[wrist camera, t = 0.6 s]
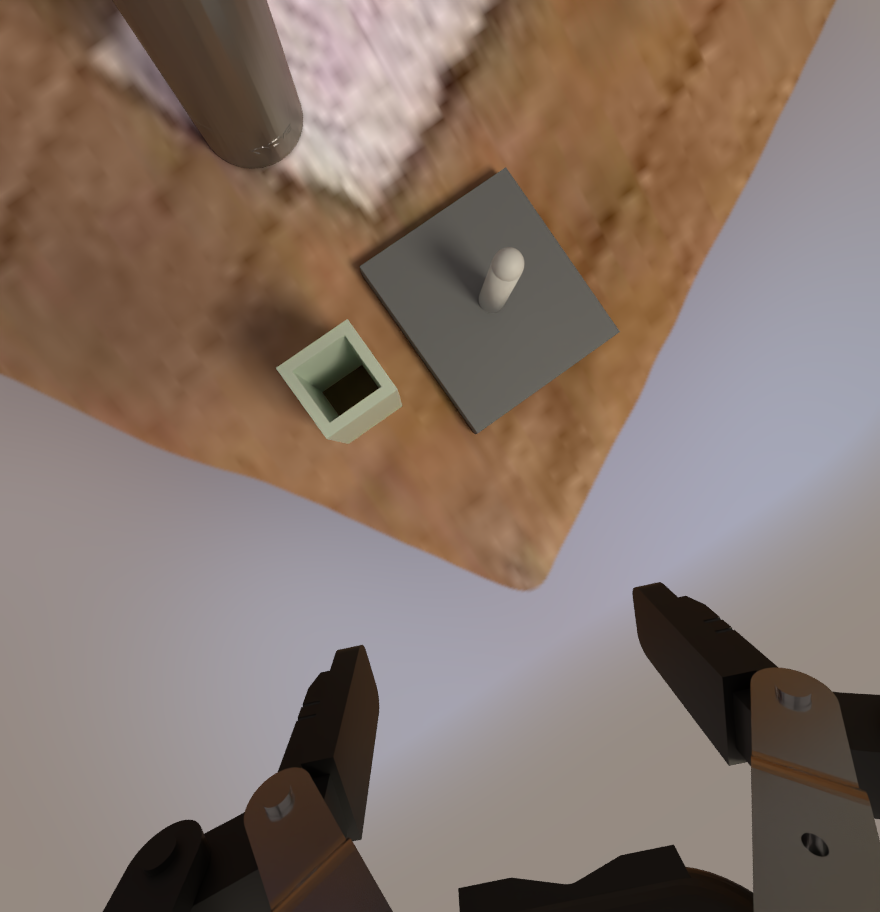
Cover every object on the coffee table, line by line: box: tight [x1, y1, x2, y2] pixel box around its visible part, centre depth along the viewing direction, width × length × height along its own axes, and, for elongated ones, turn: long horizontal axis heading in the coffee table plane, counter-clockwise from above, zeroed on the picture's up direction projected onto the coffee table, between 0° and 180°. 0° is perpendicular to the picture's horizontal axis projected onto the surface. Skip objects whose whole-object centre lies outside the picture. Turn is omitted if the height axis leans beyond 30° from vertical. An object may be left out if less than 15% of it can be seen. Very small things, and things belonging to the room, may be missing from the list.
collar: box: [276, 319, 402, 444], centre depth 33 cm, size 6×6×9 cm
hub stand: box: [360, 168, 620, 434], centre depth 34 cm, size 18×16×9 cm
